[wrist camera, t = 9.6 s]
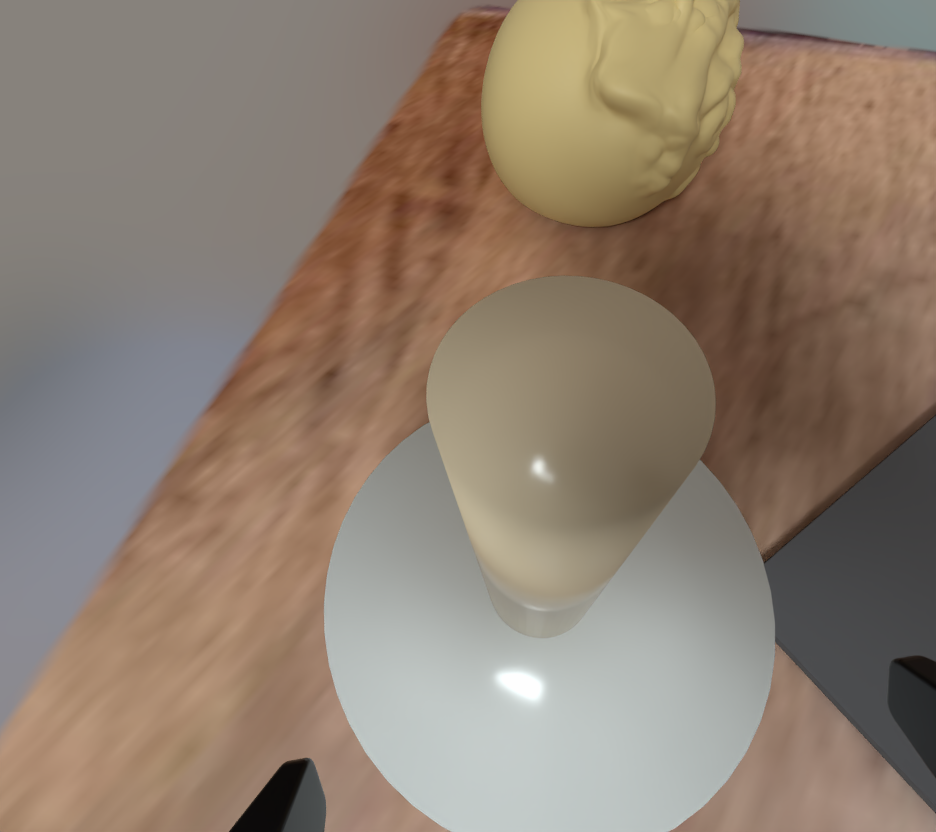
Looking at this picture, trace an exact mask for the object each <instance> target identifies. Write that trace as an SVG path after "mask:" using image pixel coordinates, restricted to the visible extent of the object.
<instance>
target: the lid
mask: <svg viewBox="0 0 936 832" xmlns="http://www.w3.org/2000/svg"><path fill="white" fill-rule="evenodd" d="M426 401H427V409H428V417H429V421H430V422H429V423H427V424H425V425H423V426H422V427H421V428H419V429H418V430H417V431H415V432H414V433H412V434H411V435H410V436H408V437H407V438H406V439H404V440H403V441H402V442H401V443H400V444H399V445H398V446H397V447H396V448H394V449H393V450H392V451H391V452H390V453H389V454H388V455H387V456H386V457H385V458H384V459H383V460H382V462H381V463H380V464H379V465H378V466H377V467H376V469H375V470H374V471H373V472H372V473H371V474H370V476H369V477H368V479H367V480H366V482H365V483H364V485H363V486H362V488H361V489H360V491H359V492H358V494H357V495H356V497H355V498H354V500H353V502H352V504H351V506H350V508H349V510H348V512H347V514H346V516H345V518H344V520H343V522H342V525H341V528H340V531H339V533H338V536H337V539H336V542H335V544H334V547H333V551H332V556H331V560H330V564H329V569H328V573H327V581H326V590H325V599H324V629H325V640H326V647H327V654H328V661H329V666H330V670H331V674H332V677H333V681H334V685H335V688H336V692H337V695H338V698H339V700H340V702H341V705H342V707H343V710H344V712H345V714H346V717H347V719H348V722H349V724H350V726H351V728H352V729H353V731H354V733H355V735H356V736H357V738H358V740H359V742H360V743H361V745H362V747H363V748H364V750H365V752H366V754H367V755H368V756H369V758H370V759H371V760H372V761H373V763H374V764H375V765H376V767H377V768H378V769H379V770H380V772H381V773H382V774H383V776H384V777H385V778H386V780H387V781H388V782H389V783H390V784H391V785H392V786H393V787H394V788H395V789H396V790H397V791H398V792H399V793H400V794H402V795H403V796H404V797H405V798H406V799H407V800H408V801H409V802H410V803H411V804H412V805H413V806H414V807H416V808H417V809H418V810H420V811H421V812H422V813H424V814H425V815H427V816H428V817H429V818H431V819H432V820H433V821H435V822H436V823H438V824H439V825H440V826H442V827H444V828H446V829H448V830H450V831H452V832H668V831H670V830H672V829H674V828H676V827H677V826H679V825H680V824H681V823H682V822H684V821H685V820H686V819H688V818H689V817H690V816H691V815H693V814H694V813H695V812H697V811H698V810H699V809H700V808H702V807H703V806H704V805H705V804H706V803H707V802H708V801H709V800H710V799H711V798H712V797H713V796H714V794H715V793H716V792H717V791H718V790H719V789H720V788H721V787H722V786H723V785H724V784H725V783H726V781H727V780H728V779H729V777H730V776H731V774H732V773H733V771H734V770H735V768H736V767H737V765H738V764H739V762H740V761H741V759H742V758H743V756H744V755H745V753H746V752H747V750H748V748H749V745H750V743H751V741H752V739H753V737H754V735H755V732H756V730H757V728H758V726H759V724H760V722H761V719H762V715H763V712H764V708H765V705H766V701H767V698H768V694H769V691H770V687H771V680H772V673H773V665H774V658H775V619H774V612H773V604H772V596H771V590H770V586H769V582H768V578H767V575H766V571H765V567H764V563H763V560H762V557H761V555H760V552H759V550H758V547H757V545H756V542H755V540H754V537H753V535H752V532H751V530H750V529H749V527H748V525H747V523H746V521H745V519H744V518H743V516H742V514H741V512H740V510H739V508H738V507H737V505H736V504H735V502H734V501H733V499H732V498H731V497H730V495H729V494H728V492H727V491H726V490H725V488H724V487H723V485H722V484H721V482H720V481H719V480H718V479H717V478H716V477H715V476H714V475H713V474H712V472H711V471H710V470H709V469H708V468H707V467H706V466H705V465H704V463H703V462H702V461H701V460H700V458H701V456H702V455H703V453H704V451H705V449H706V446H707V444H708V442H709V439H710V437H711V433H712V429H713V424H714V420H715V408H716V397H715V388H714V382H713V378H712V374H711V370H710V367H709V365H708V363H707V360H706V358H705V355H704V353H703V351H702V350H701V348H700V346H699V345H698V343H697V341H696V340H695V338H694V337H693V336H692V334H691V333H690V332H689V331H688V329H687V328H686V327H685V326H684V325H683V324H682V323H681V322H680V321H679V320H678V319H677V318H676V317H675V316H674V315H673V314H672V313H671V312H669V311H668V310H667V309H665V308H664V307H663V306H661V305H660V304H659V303H657V302H656V301H654V300H652V299H651V298H649V297H647V296H646V295H644V294H642V293H639V292H637V291H635V290H633V289H631V288H629V287H626V286H623V285H620V284H617V283H614V282H610V281H606V280H601V279H597V278H590V277H582V276H552V277H543V278H537V279H531V280H527V281H524V282H520V283H516V284H513V285H511V286H508V287H506V288H503V289H501V290H498V291H497V292H495V293H493V294H491V295H489V296H487V297H485V298H484V299H482V300H481V301H479V302H478V303H476V304H475V305H474V306H472V307H471V308H470V309H469V310H467V311H466V312H465V313H464V314H463V315H462V316H461V317H460V318H459V319H458V320H457V321H456V322H455V323H454V324H453V326H452V327H451V328H450V329H449V331H448V332H447V333H446V335H445V336H444V338H443V339H442V341H441V343H440V345H439V347H438V349H437V351H436V353H435V355H434V358H433V361H432V364H431V367H430V370H429V375H428V381H427V397H426Z"/></svg>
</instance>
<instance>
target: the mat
mask: <svg viewBox="0 0 936 832" xmlns="http://www.w3.org/2000/svg"><path fill="white" fill-rule="evenodd" d="M764 567H765V571H766V575H767V578H768V582H769V586H770V590H771V596H772V604H773V612H774V619H775V642H776V643H777V644H778V645H779V646H780V647H781V648H782V649H783V650H784V651H785V653H786V654H787V655H788V656H789V657H790V658H791V659H792V660H793V661H794V662H795V663H796V664H797V665H798V666H799V667H800V669H801V670H802V671H803V672H804V673H805V674H806V675H807V676H808V677H809V678H810V679H811V680H812V681H813V682H814V684H815V685H816V686H817V687H818V688H819V689H820V690H821V691H822V692H823V693H824V694H825V695H826V696H827V697H828V698H829V700H830V701H831V702H832V703H833V704H834V705H835V706H836V707H837V708H838V709H839V710H840V711H841V712H842V713H843V715H844V716H845V717H846V718H847V719H848V720H849V721H850V722H851V723H852V724H853V725H854V726H855V727H856V728H857V729H858V731H859V732H860V733H861V734H862V735H863V736H864V737H865V738H866V739H867V740H868V741H869V742H870V743H871V744H872V746H873V747H874V748H875V749H876V750H877V751H878V752H879V753H880V754H881V755H882V756H883V757H884V758H885V759H886V760H887V762H888V763H889V764H890V765H891V766H892V767H893V768H894V769H895V770H896V771H897V772H898V773H899V774H900V775H901V776H902V778H903V779H904V780H905V781H906V782H907V783H908V784H909V785H910V786H911V787H912V788H913V789H914V790H915V791H916V793H917V794H918V795H919V796H920V797H921V798H922V799H923V800H924V801H925V802H926V803H927V804H928V805H929V806H930V807H931V809H932V810H933V811H934V812H935V813H936V779H935V777H934V776H933V774H932V773H931V772H930V770H929V769H928V767H927V766H926V764H925V763H924V762H923V760H922V759H921V757H920V756H919V755H918V753H917V752H916V750H915V749H914V747H913V746H912V745H911V743H910V742H909V740H908V739H907V738H906V736H905V735H904V733H903V732H902V730H901V729H900V728H899V726H898V725H897V723H896V722H895V720H894V719H893V717H892V715H891V713H890V711H889V708H888V704H887V689H888V671H889V664H890V663H891V661H892V660H893V659H896V658H902V657H908V656H914V655H920V656H924V657H927V658H929V659H932V660H934V661H936V415H935V416H934V417H933V418H931V419H930V420H929V421H928V422H927V423H926V424H925V425H923V426H922V427H921V428H920V429H919V430H918V431H916V432H915V433H914V434H913V435H912V436H911V437H909V438H908V439H907V440H906V441H905V442H904V443H903V444H901V445H900V446H899V447H898V448H897V449H896V450H894V451H893V452H892V453H891V454H890V455H889V456H887V457H886V458H885V459H884V460H883V461H882V462H880V463H879V464H878V465H877V466H876V467H875V468H874V469H872V470H871V471H870V472H869V473H868V474H867V475H865V476H864V477H863V478H862V479H861V480H860V481H858V482H857V483H856V484H855V485H854V486H853V487H852V488H850V489H849V490H848V491H847V492H846V493H845V494H843V495H842V496H841V497H840V498H839V499H838V500H836V501H835V502H834V503H833V504H832V505H831V506H829V507H828V508H827V509H826V510H825V511H824V512H823V513H821V514H820V515H819V516H818V517H817V518H816V519H814V520H813V521H812V522H811V523H810V524H809V525H807V526H806V527H805V528H804V529H803V530H802V531H801V532H799V533H798V534H797V535H796V536H795V537H794V538H792V539H791V540H790V541H789V542H788V543H787V544H785V545H784V546H783V547H782V548H781V549H780V550H778V551H777V552H776V553H775V554H774V555H773V556H772V557H770V558H769V559H768V560H767V561H766V562H765V563H764Z"/></svg>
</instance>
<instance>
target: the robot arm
mask: <svg viewBox="0 0 936 832" xmlns="http://www.w3.org/2000/svg"><path fill="white" fill-rule="evenodd" d="M887 704H888V708H889V711H890V713H891V715H892V717H893V719H894V720H895V722H896V723H897V725H898V726H899V728H900V729H901V730H902V732H903V733H904V735H905V736H906V738H907V739H908V740H909V742H910V743H911V745H912V746H913V747H914V749H915V750H916V752H917V753H918V755H919V756H920V757H921V759H922V760H923V762H924V763H925V764H926V766H927V767H928V769H929V770H930V772H931V773H932V774H933V776H934V777H935V779H936V661H934V660H932V659H929V658H927V657H924V656H920V655H914V656H908V657H902V658H896V659H893V660H892V661H891V663H890V664H889V671H888V689H887ZM325 819H326V800H325V795H324V792H323V789H322V786H321V783H320V779H319V776H318V773H317V770H316V767H315V764H314V762H313V761H312V760H311V759H310V758H303V759H297V760H291V761H287V762H285V763H284V764H283V765H281V767H280V768H279V769H278V770H277V771H276V773H275V774H274V775H273V777H272V778H271V779H270V780H269V782H268V783H267V784H266V785H265V787H264V788H263V789H262V790H261V792H260V793H259V794H258V795H257V797H256V798H255V799H254V801H253V802H252V803H251V804H250V806H249V807H248V808H247V809H246V811H245V812H244V813H243V814H242V816H241V817H240V818H239V820H238V821H237V822H236V823H235V825H234V826H233V827H232V828H231V830H230V831H229V832H324V828H325Z"/></svg>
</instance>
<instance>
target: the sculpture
mask: <svg viewBox="0 0 936 832" xmlns="http://www.w3.org/2000/svg"><path fill="white" fill-rule="evenodd" d="M739 6H740V0H518V1H517V2H516V3H515V5H514V6H513V7H512V9H511V10H510V12H509V13H508V15H507V16H506V18H505V20H504V22H503V23H502V25H501V27H500V29H499V31H498V34H497V36H496V38H495V41H494V43H493V46H492V49H491V52H490V55H489V59H488V62H487V66H486V71H485V76H484V82H483V90H482V105H481V112H482V127H483V134H484V139H485V143H486V147H487V151H488V154H489V157H490V159H491V162H492V164H493V166H494V169H495V171H496V172H497V174H498V176H499V178H500V179H501V181H502V182H503V184H504V185H505V187H506V188H507V189H508V190H509V192H510V193H511V194H512V195H513V196H514V197H515V198H516V199H517V200H518V201H519V202H521V203H522V204H523V205H525V206H526V207H528V208H529V209H531V210H533V211H534V212H536V213H538V214H540V215H542V216H544V217H547V218H549V219H552V220H555V221H558V222H561V223H565V224H569V225H575V226H582V227H605V226H612V225H617V224H620V223H624V222H627V221H630V220H632V219H635V218H637V217H639V216H641V215H643V214H645V213H647V212H648V211H650V210H652V209H653V208H655V207H656V206H658V205H659V204H660V203H662V202H663V201H665V200H668V199H671V198H674V197H676V196H677V195H679V194H680V193H681V192H682V191H683V190H684V189H685V188H686V187H687V185H688V184H689V183H690V182H691V181H692V180H693V179H694V177H695V176H696V174H697V173H698V171H699V169H700V165H701V162H702V161H703V159H704V158H705V157H708V156H711V155H712V154H713V153H714V152H715V151H716V150H717V148H718V145H719V134H720V133H721V131H722V129H723V128H724V127H725V126H726V125H727V124H728V123H729V121H730V120H731V117H732V115H733V112H734V109H735V105H736V95H735V93H734V88H735V86H736V84H737V81H738V79H739V77H740V75H741V61H740V58H741V53H742V51H743V47H744V39H743V36H742V35H741V33H740V32H739V31H738V30H737V28H736V27H737V25H738V20H739Z"/></svg>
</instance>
